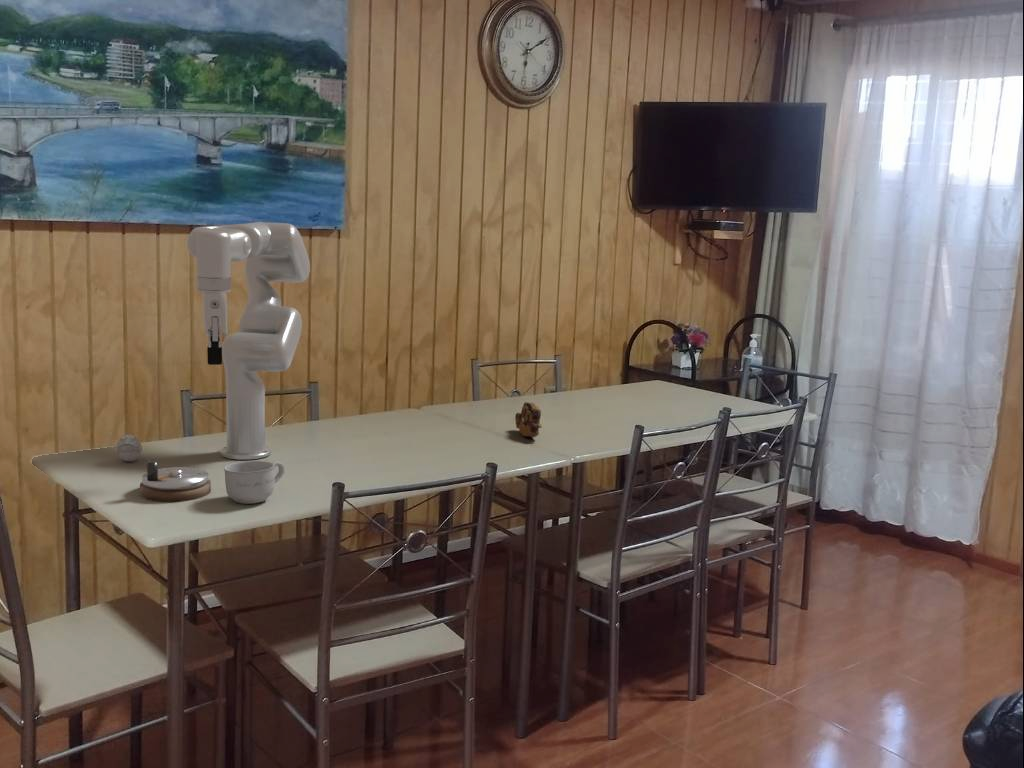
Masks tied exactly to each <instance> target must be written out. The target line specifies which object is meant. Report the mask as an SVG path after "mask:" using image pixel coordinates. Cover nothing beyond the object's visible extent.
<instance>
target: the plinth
mask: <svg viewBox="0 0 1024 768" xmlns="http://www.w3.org/2000/svg"><path fill="white" fill-rule="evenodd" d="M211 483H212V481H211V479H210V478H208V483H207V484H205V485H203V486H201V487H198V488H194V489H188V490H180V491H160V490H153V489H149V488H146V487H144V486H143V485H142V481H141V482H140V484H139V495H140V497H142V498H143V499H145V500H149V501H154V502H162V503H167V502H168V503H174V502H186V501H187V502H188V501H192V500H197V499H200V498H203V497H206V496H208V495H209V494H210V493H211V491H212V489H211V488H212V487H211V486H212V485H211Z"/></svg>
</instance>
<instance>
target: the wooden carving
mask: <svg viewBox="0 0 1024 768" xmlns="http://www.w3.org/2000/svg"><path fill="white" fill-rule="evenodd" d="M541 416H542V410H541V409H540V407H539V405H538V404H537V403H535V402H528V401H527V402H525V401H524V403H523V406H522V407H521V412H516V413H515V417H514V418H515V420H514V421H515V427H516V428H517V429H518V430H519V433H520V434H521V436H522V437H527V438H536V437H538V435H540V430H539V429H542V424H541V423H540V420H541Z"/></svg>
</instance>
